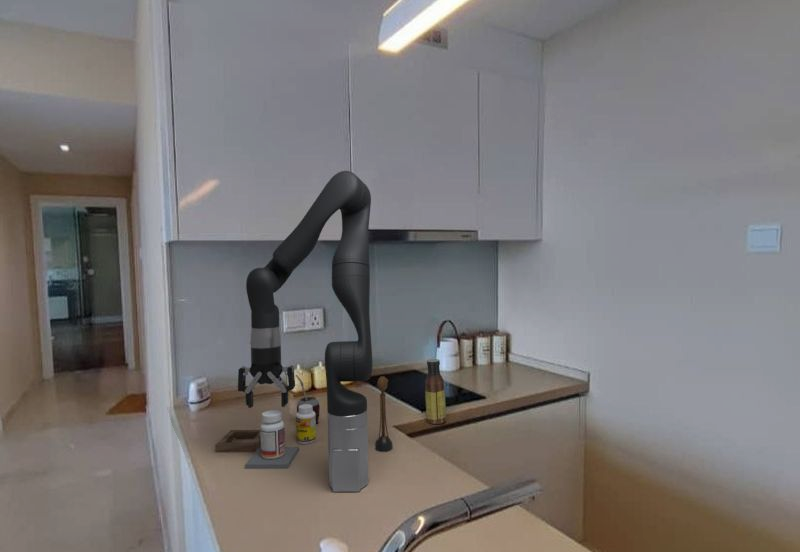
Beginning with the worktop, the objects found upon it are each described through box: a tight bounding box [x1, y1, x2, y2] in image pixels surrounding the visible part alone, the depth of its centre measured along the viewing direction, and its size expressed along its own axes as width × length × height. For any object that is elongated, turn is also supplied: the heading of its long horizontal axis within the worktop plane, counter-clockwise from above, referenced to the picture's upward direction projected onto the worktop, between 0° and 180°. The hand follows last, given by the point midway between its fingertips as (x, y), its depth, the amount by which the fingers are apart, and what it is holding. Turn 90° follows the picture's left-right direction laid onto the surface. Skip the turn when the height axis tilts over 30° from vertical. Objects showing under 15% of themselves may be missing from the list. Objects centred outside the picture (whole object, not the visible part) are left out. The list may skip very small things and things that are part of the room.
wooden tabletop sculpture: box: [374, 376, 394, 453], centre depth 129 cm, size 6×5×20 cm
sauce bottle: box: [424, 358, 447, 425], centre depth 148 cm, size 6×6×20 cm
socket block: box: [214, 429, 261, 453], centre depth 133 cm, size 11×11×2 cm
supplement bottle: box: [295, 404, 317, 445], centre depth 135 cm, size 6×6×10 cm
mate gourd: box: [294, 374, 320, 425], centre depth 149 cm, size 8×8×15 cm
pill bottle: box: [259, 409, 286, 459], centre depth 123 cm, size 6×6×11 cm
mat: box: [244, 446, 300, 469], centre depth 123 cm, size 11×11×1 cm
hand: (267, 406), depth 121 cm, fingers open, 8 cm apart
